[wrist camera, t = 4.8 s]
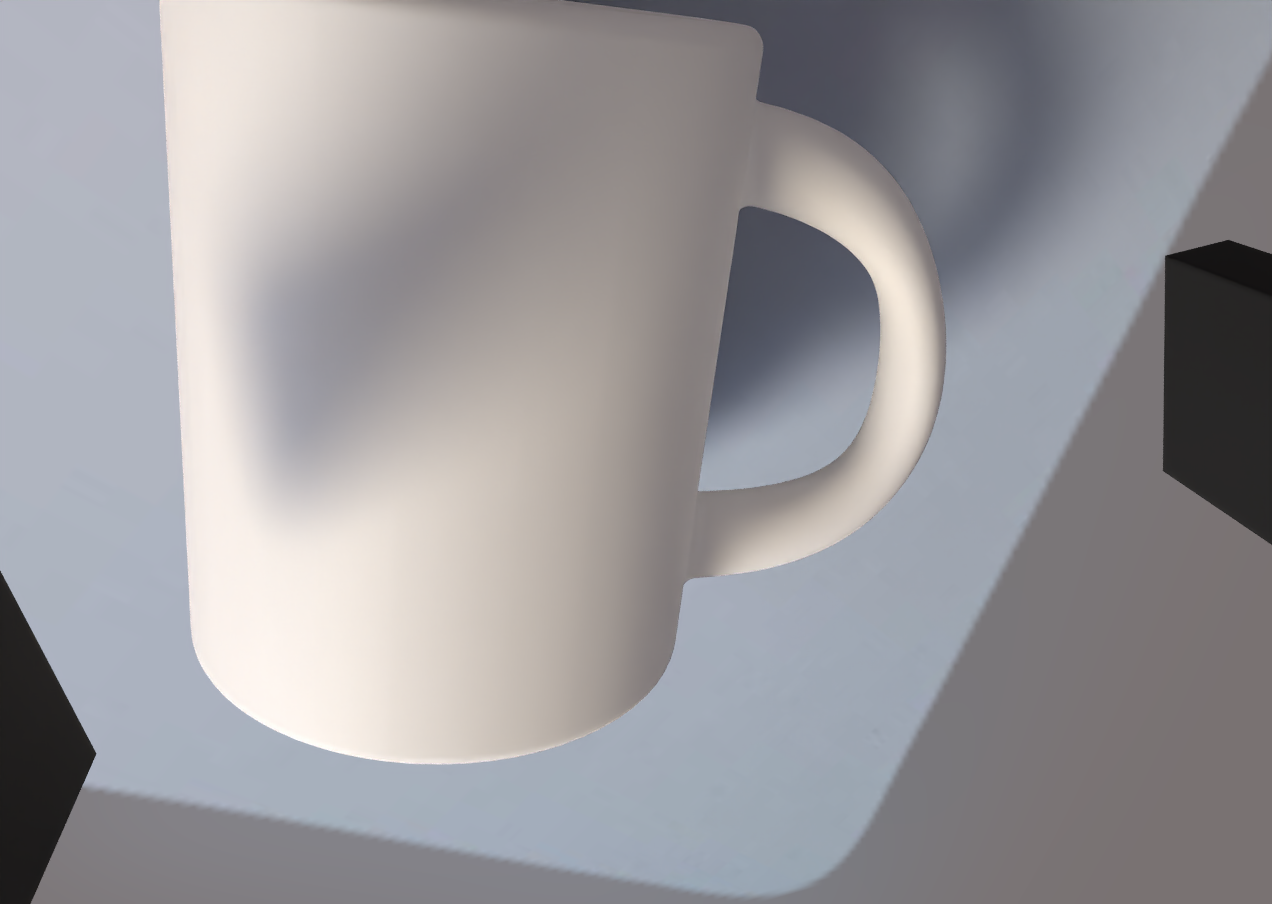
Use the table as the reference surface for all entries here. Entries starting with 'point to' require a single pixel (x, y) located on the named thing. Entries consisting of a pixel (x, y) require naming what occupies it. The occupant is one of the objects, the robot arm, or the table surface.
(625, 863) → the table surface
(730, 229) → the mug
